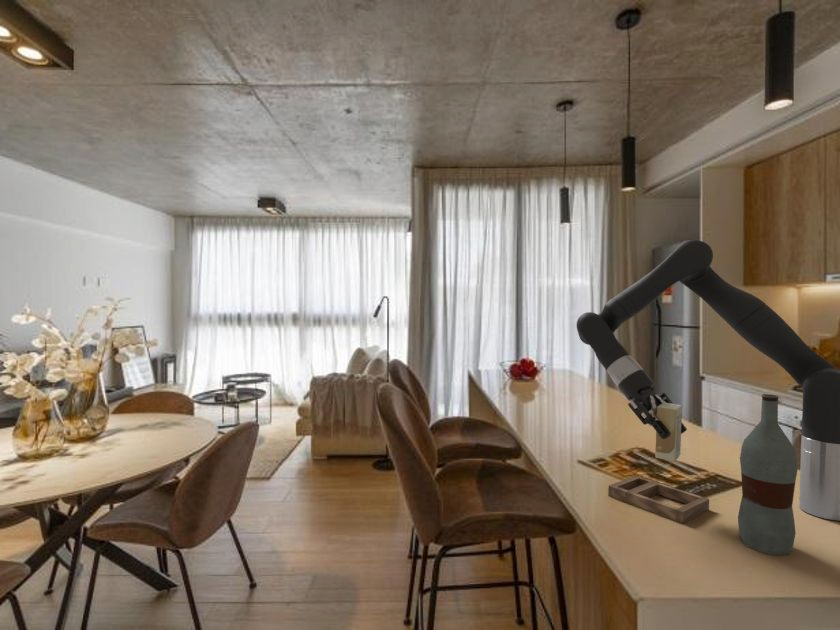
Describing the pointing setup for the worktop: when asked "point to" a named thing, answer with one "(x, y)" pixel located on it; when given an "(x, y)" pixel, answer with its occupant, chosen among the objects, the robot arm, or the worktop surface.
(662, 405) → the skincare box
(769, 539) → the bottle
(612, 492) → the slot holder
